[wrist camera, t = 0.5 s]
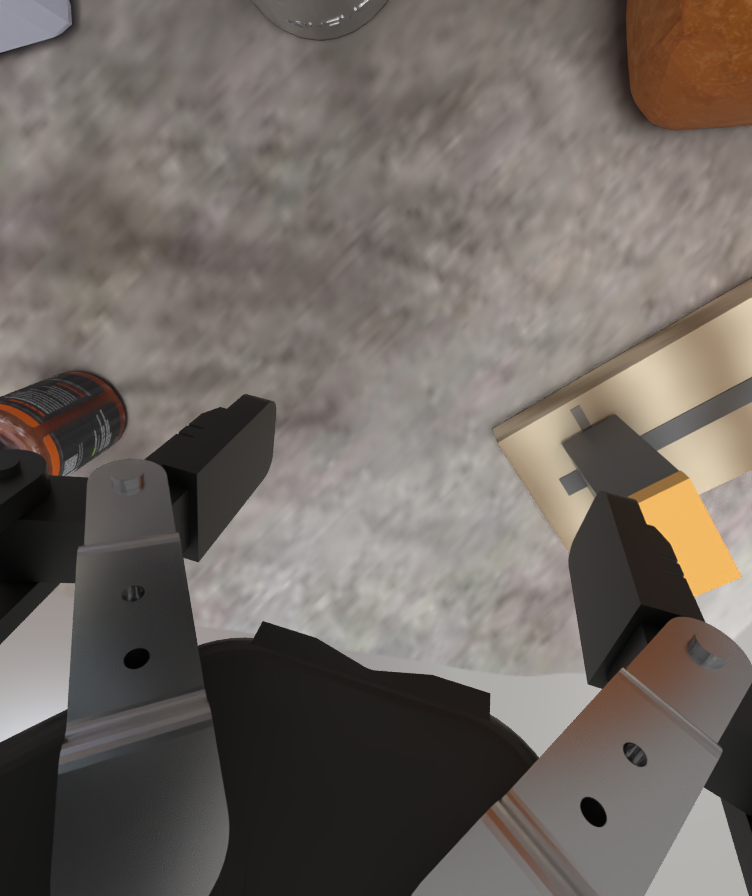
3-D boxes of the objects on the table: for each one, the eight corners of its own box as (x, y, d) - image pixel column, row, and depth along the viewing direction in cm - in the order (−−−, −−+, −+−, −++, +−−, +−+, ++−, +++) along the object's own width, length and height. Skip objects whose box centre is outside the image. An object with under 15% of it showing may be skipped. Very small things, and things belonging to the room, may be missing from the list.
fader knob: (604, 516, 32) (666, 608, 24) (560, 443, 31) (610, 516, 22) (658, 489, 31) (742, 577, 23) (615, 413, 30) (689, 478, 21)
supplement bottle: (36, 371, 35) (-127, 427, 24) (116, 366, 34) (-17, 422, 24) (63, 449, 37) (-76, 531, 27) (139, 446, 36) (26, 529, 26)
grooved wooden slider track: (561, 535, 36) (571, 556, 34) (492, 429, 34) (497, 443, 31) (932, 353, 30) (977, 363, 27) (883, 200, 27) (928, 197, 24)
